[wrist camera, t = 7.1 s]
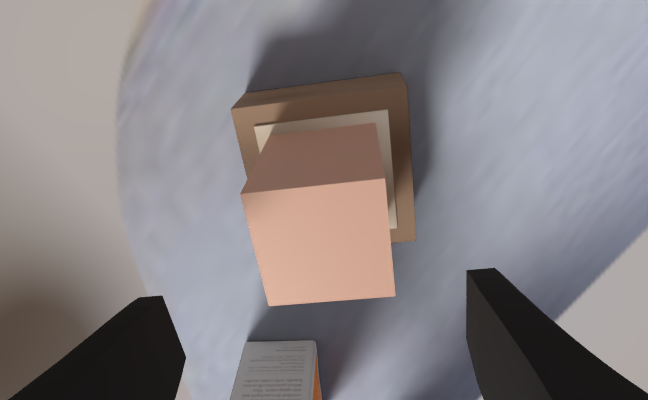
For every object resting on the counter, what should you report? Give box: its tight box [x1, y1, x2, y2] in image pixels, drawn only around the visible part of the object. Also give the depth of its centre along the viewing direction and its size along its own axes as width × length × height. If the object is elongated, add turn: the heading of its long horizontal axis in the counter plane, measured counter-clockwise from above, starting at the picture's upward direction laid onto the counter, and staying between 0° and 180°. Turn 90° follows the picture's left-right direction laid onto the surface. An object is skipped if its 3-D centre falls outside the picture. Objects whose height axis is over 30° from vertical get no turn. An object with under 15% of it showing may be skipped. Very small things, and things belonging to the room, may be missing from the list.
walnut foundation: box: [231, 72, 416, 243], centre depth 19 cm, size 6×6×3 cm
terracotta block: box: [240, 123, 396, 306], centre depth 15 cm, size 4×4×5 cm
